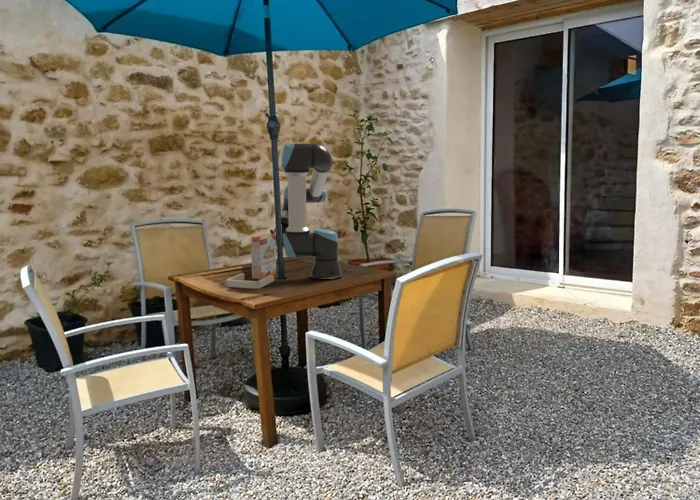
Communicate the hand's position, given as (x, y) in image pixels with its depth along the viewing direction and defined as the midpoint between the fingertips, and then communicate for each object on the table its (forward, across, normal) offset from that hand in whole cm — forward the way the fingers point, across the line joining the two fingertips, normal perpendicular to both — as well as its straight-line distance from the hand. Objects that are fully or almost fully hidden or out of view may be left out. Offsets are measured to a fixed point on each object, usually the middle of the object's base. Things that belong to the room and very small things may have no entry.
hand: (273, 256), depth 301 cm
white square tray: (+26, 0, +14) cm, 30 cm away
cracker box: (+14, 0, +3) cm, 15 cm away
